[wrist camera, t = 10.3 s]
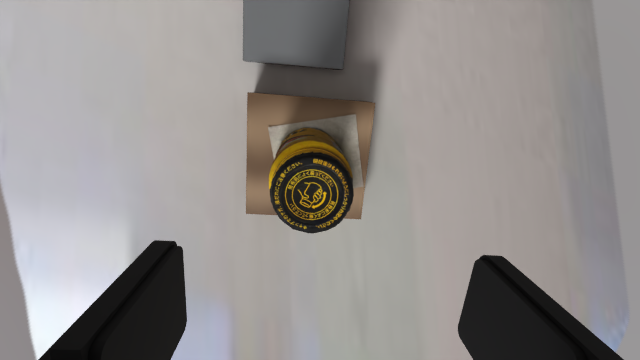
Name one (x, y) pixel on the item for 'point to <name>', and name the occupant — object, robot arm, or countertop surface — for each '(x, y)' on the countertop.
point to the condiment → (314, 172)
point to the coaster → (295, 32)
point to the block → (288, 111)
